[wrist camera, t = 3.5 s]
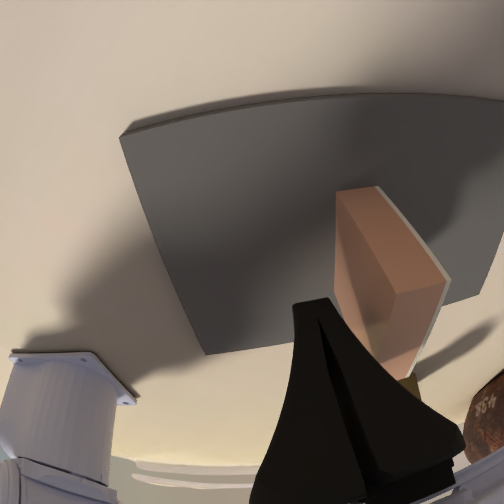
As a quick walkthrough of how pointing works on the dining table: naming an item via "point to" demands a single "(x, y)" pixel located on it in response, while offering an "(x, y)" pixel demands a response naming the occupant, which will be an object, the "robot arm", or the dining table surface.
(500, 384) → the jug
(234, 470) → the dining table surface
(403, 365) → the tile
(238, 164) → the mat
